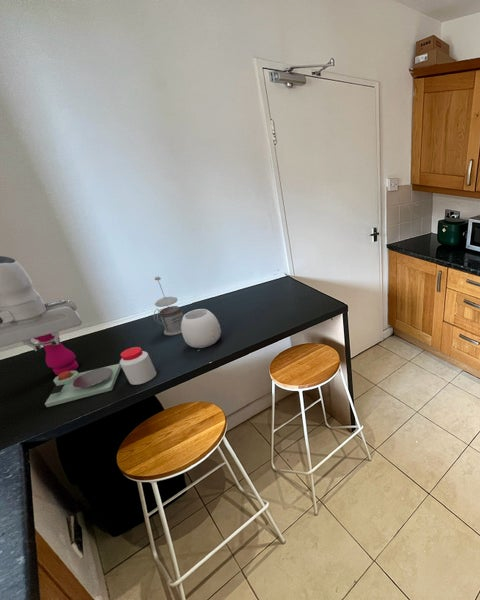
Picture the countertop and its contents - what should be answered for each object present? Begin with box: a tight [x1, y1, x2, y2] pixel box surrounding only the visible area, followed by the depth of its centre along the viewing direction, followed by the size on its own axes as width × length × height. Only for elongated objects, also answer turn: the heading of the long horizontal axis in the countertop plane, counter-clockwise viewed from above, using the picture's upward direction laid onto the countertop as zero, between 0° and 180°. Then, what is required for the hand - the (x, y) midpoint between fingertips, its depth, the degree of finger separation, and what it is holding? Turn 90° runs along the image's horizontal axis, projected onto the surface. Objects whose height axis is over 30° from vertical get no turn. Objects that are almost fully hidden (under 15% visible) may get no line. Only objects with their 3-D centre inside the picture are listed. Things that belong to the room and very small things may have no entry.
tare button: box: [57, 371, 72, 380], centre depth 105 cm, size 3×3×2 cm
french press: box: [153, 276, 184, 336], centre depth 131 cm, size 10×12×25 cm
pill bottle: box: [119, 346, 157, 386], centre depth 107 cm, size 8×8×11 cm
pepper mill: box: [33, 334, 80, 376], centre depth 109 cm, size 7×7×20 cm
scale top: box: [49, 367, 113, 396], centre depth 104 cm, size 15×10×1 cm
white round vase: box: [181, 308, 222, 349], centre depth 125 cm, size 13×13×14 cm
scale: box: [44, 363, 122, 408], centre depth 105 cm, size 16×14×3 cm
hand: (47, 346), depth 100 cm, fingers open, 3 cm apart
